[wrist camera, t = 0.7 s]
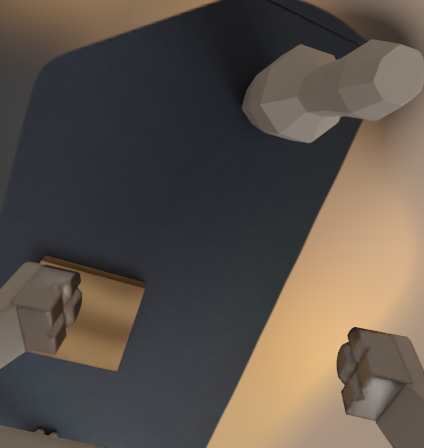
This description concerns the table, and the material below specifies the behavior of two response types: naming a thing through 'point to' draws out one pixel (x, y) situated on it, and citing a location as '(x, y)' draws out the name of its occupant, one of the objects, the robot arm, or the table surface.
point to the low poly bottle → (332, 88)
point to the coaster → (99, 316)
